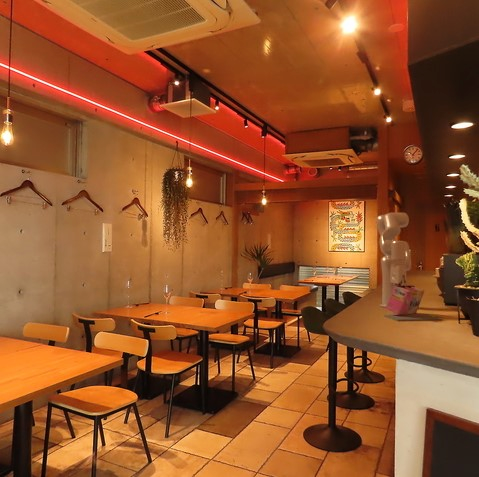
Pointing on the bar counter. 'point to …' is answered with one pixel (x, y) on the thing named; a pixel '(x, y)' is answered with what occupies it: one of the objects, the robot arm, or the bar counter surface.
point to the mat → (413, 317)
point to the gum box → (405, 300)
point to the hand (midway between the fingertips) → (398, 296)
